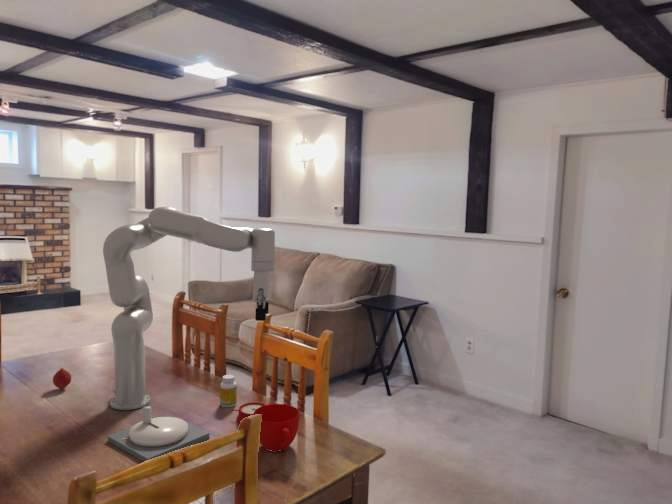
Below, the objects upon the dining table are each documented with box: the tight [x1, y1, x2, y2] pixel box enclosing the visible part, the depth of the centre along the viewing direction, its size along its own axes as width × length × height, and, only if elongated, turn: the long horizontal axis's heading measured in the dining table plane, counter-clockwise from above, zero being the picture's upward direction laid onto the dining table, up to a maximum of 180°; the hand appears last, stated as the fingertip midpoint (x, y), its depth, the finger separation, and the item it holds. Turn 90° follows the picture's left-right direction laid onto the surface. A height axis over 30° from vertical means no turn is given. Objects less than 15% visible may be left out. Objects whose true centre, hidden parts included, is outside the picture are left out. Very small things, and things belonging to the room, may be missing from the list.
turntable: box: [129, 405, 188, 447], centre depth 151 cm, size 16×16×6 cm
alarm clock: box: [231, 402, 266, 425], centre depth 165 cm, size 10×6×15 cm
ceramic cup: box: [253, 403, 301, 451], centre depth 147 cm, size 13×17×10 cm
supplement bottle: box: [219, 374, 238, 408], centre depth 178 cm, size 5×5×10 cm
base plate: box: [107, 413, 210, 462], centre depth 151 cm, size 20×20×2 cm
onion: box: [52, 367, 72, 390], centre depth 187 cm, size 6×6×8 cm
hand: (262, 317), depth 175 cm, fingers open, 9 cm apart
